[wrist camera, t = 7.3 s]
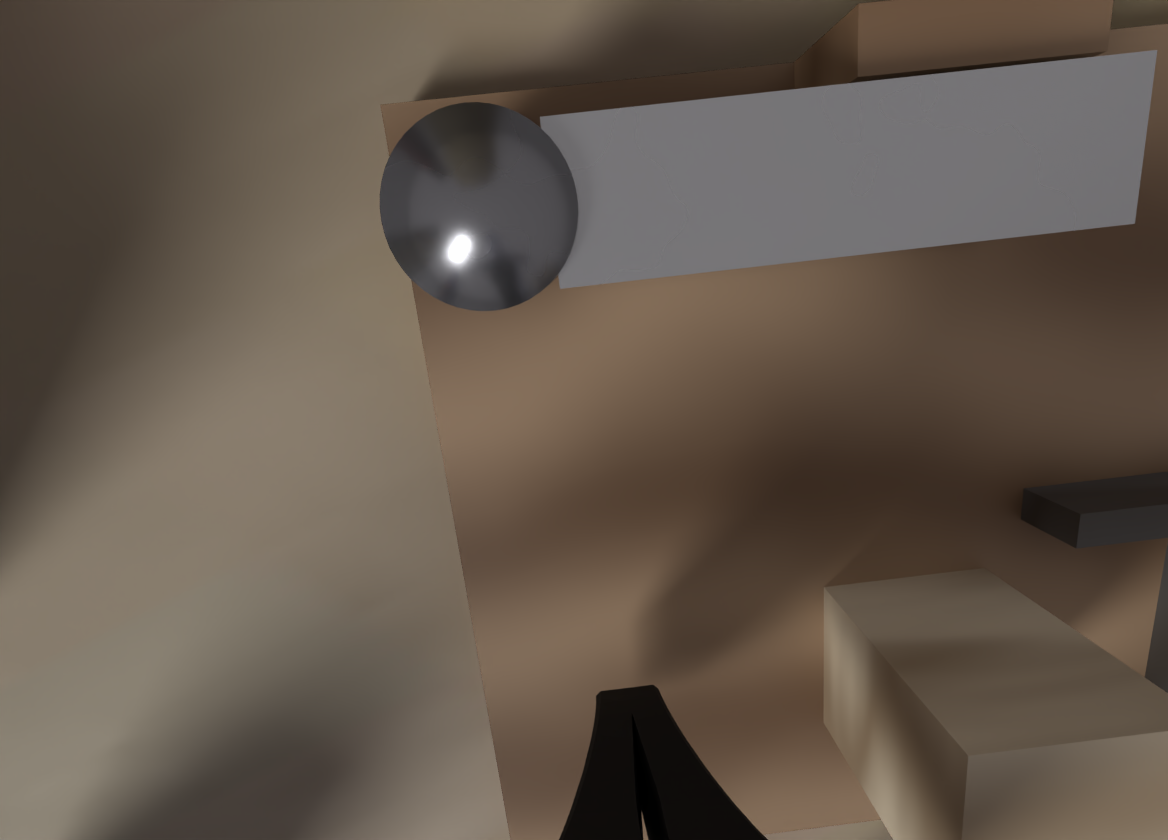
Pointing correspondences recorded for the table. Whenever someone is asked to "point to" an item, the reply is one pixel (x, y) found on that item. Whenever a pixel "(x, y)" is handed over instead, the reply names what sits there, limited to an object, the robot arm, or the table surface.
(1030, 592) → the plate
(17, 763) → the table surface
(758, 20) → the table surface
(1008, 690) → the leg stub
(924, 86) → the hinged leg
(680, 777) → the robot arm
